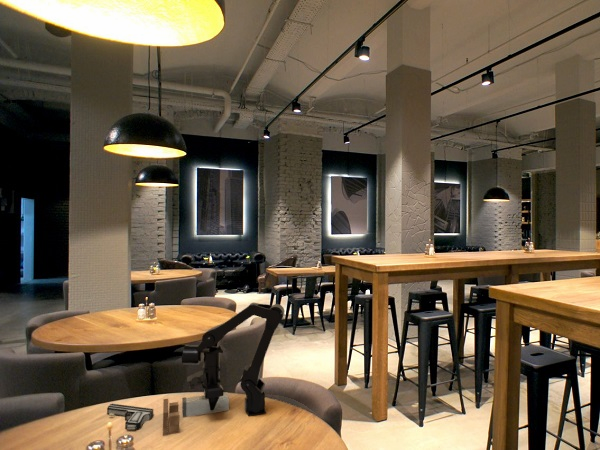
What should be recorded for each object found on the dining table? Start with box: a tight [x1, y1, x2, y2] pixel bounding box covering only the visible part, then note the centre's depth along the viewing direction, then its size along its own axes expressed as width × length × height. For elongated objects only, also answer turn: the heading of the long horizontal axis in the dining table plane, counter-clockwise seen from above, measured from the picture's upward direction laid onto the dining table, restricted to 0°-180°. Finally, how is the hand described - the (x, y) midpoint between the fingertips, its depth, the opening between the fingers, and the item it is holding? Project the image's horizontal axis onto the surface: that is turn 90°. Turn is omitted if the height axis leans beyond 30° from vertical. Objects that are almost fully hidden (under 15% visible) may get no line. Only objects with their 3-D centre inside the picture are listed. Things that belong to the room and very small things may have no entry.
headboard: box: [162, 398, 180, 436], centre depth 124 cm, size 5×11×7 cm, turn 20°
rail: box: [181, 391, 230, 418], centre depth 134 cm, size 16×4×5 cm, turn 110°
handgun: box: [106, 403, 154, 431], centre depth 128 cm, size 3×19×12 cm
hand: (211, 407), depth 135 cm, fingers closed on rail, 4 cm apart
